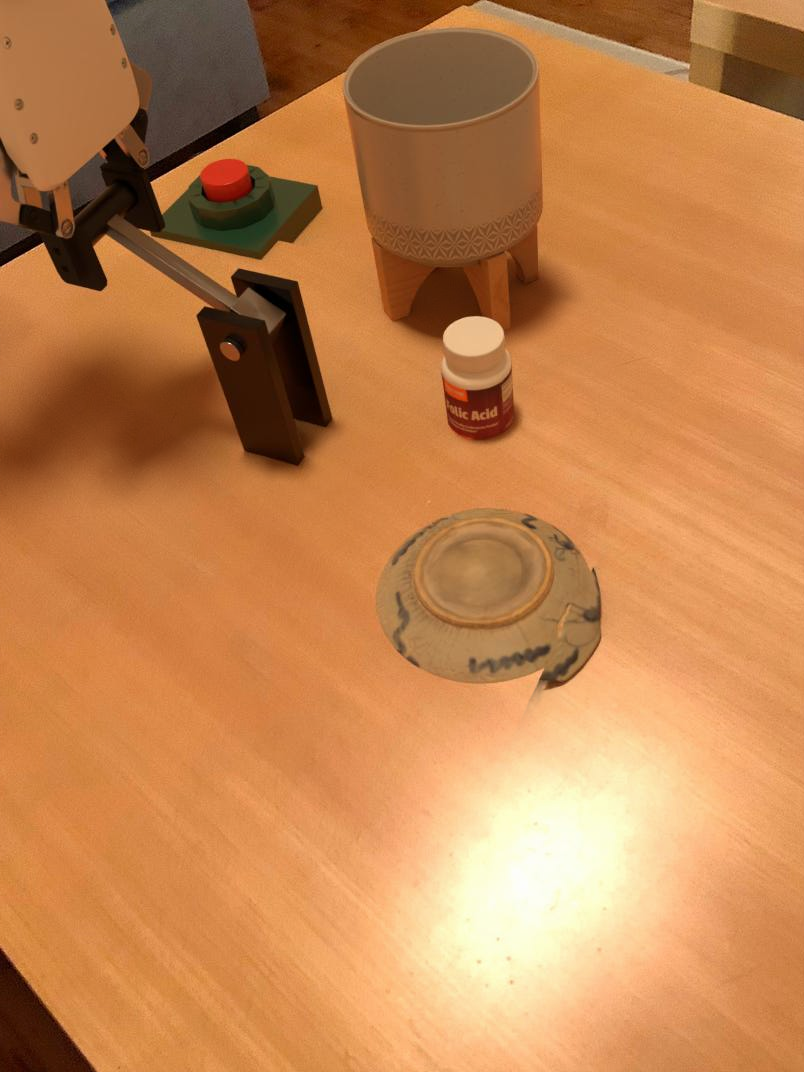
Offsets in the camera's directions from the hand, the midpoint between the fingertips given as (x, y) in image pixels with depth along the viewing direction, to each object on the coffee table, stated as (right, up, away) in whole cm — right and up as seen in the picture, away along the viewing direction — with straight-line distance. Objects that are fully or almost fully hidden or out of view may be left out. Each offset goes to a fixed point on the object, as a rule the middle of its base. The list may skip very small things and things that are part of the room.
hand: (114, 252), depth 66 cm
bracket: (+10, -11, +9) cm, 17 cm away
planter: (+22, +2, +17) cm, 28 cm away
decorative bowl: (+24, -22, -1) cm, 33 cm away
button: (+2, +13, +22) cm, 26 cm away
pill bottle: (+23, -10, +8) cm, 27 cm away
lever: (+4, -2, 0) cm, 5 cm away
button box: (+2, +11, +25) cm, 28 cm away
